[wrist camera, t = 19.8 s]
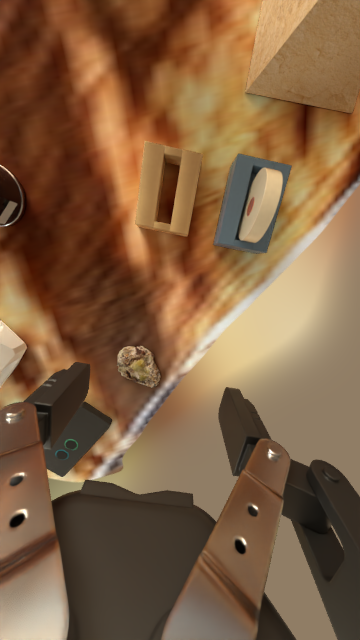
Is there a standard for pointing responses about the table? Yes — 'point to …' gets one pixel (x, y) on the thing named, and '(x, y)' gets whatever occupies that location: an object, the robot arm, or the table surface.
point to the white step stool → (9, 351)
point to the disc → (260, 205)
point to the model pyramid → (308, 53)
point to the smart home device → (76, 439)
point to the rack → (152, 187)
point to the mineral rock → (138, 366)
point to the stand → (235, 198)
